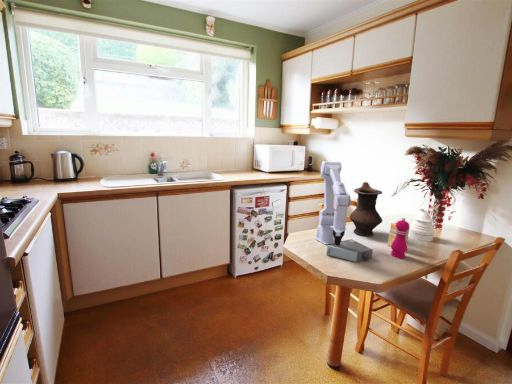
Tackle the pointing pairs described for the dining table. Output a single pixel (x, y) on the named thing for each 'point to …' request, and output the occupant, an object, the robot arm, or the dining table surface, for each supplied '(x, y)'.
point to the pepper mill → (400, 239)
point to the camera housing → (357, 249)
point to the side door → (342, 253)
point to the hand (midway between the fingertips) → (337, 245)
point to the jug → (366, 210)
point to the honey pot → (422, 227)
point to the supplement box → (394, 234)
